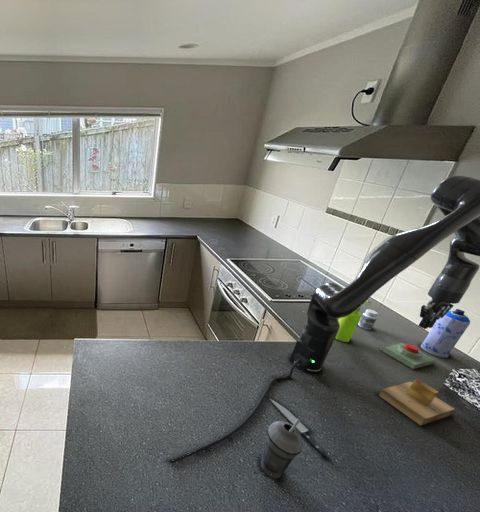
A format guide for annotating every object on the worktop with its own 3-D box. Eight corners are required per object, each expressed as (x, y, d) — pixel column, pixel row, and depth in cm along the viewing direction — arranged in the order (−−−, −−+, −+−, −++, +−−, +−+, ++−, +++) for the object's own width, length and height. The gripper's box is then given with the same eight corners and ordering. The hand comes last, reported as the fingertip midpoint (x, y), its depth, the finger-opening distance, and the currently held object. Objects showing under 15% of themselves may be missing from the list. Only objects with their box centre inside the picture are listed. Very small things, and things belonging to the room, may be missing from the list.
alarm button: (413, 354, 108) (415, 350, 108) (402, 348, 112) (404, 344, 111) (419, 352, 109) (421, 349, 109) (408, 346, 112) (410, 343, 112)
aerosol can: (452, 355, 114) (480, 314, 106) (442, 359, 111) (471, 318, 104) (425, 342, 121) (450, 303, 113) (416, 346, 118) (441, 306, 110)
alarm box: (412, 369, 106) (418, 361, 104) (382, 351, 115) (386, 343, 113) (431, 364, 109) (437, 356, 107) (400, 347, 118) (404, 339, 116)
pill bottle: (359, 327, 129) (367, 312, 126) (356, 322, 133) (363, 307, 130) (372, 331, 127) (380, 315, 124) (369, 325, 131) (376, 310, 128)
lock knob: (429, 404, 88) (439, 391, 86) (426, 405, 87) (435, 392, 85) (409, 391, 92) (418, 378, 90) (406, 392, 92) (414, 379, 90)
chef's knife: (275, 397, 92) (268, 398, 92) (276, 394, 92) (269, 396, 91) (332, 456, 75) (323, 458, 75) (333, 453, 75) (325, 455, 74)
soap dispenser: (345, 344, 118) (364, 304, 110) (328, 334, 124) (346, 295, 116) (355, 342, 119) (375, 302, 111) (338, 332, 125) (356, 294, 118)
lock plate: (420, 425, 84) (425, 418, 83) (378, 395, 94) (382, 388, 93) (450, 415, 88) (455, 408, 87) (406, 387, 98) (411, 380, 96)
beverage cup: (275, 453, 75) (299, 400, 67) (294, 484, 69) (323, 429, 61) (249, 453, 75) (270, 400, 67) (265, 484, 68) (290, 430, 60)
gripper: (451, 294, 94) (425, 336, 101) (476, 290, 98) (450, 330, 104) (422, 284, 101) (400, 323, 107) (447, 280, 104) (424, 318, 111)
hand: (425, 326), depth 106 cm, fingers closed
